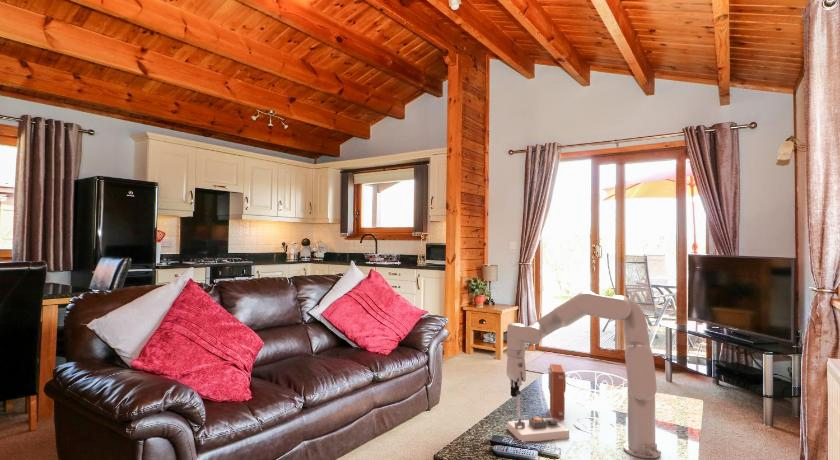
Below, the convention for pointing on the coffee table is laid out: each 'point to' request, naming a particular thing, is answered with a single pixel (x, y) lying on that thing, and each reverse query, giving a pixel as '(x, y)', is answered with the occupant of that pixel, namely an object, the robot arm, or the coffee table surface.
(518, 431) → the switch board
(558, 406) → the control panel
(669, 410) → the coffee table surface
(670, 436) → the coffee table surface
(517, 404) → the toggle lever
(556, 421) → the rocker switch
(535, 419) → the push button
